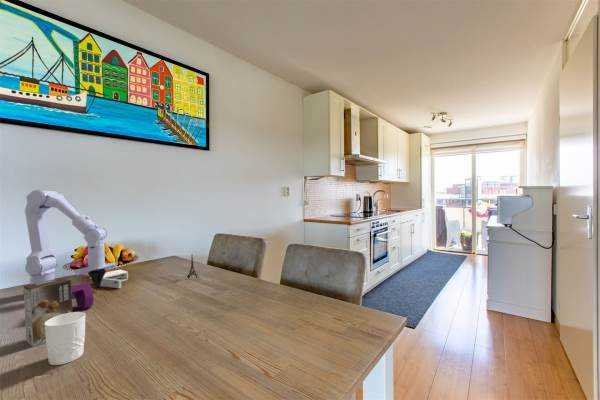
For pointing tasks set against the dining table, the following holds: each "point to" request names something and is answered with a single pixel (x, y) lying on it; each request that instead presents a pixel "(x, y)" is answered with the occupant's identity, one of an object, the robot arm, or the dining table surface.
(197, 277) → the eiffel tower figurine
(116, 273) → the cabinet
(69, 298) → the coffee box
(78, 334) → the white cup
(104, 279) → the door
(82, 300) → the mounting bracket
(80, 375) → the dining table surface
